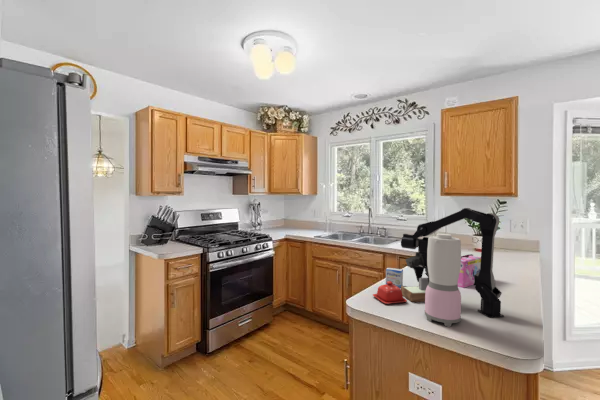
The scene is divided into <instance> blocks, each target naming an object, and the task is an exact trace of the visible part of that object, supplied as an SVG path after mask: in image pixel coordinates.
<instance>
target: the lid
mask: <svg viewBox="0 0 600 400" xmlns="http://www.w3.org/2000/svg"><path fill="white" fill-rule="evenodd" d="M418 286H419V287H416V286H403V287H404V288H406V289H407V290H409V291H410V292H412V293H425V291H426V288H427V286H428V277H422V278H419V282H418Z"/></svg>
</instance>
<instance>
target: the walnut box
mask: <svg viewBox="0 0 600 400" xmlns="http://www.w3.org/2000/svg"><path fill="white" fill-rule="evenodd" d="M404 287H405V286H401V288H400V289H401V291H402V295H403V298H404V299H406V300H407V301H409V302H410V303H425V293H412V292H410V291H409V290H407V289H406V288H404ZM415 287H419V285H418V286H415Z"/></svg>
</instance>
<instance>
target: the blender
mask: <svg viewBox="0 0 600 400" xmlns="http://www.w3.org/2000/svg"><path fill="white" fill-rule="evenodd" d="M461 256H462V241H461V239H460V238H458V237H453V235H452V234H450V233H436V235H430V236H428V248H427V266H428V273H429V284H428V286H427V288H426V291H425V302H424V316H426V320H427V321H428V322H430V323H431V322H433V321H435V322H439V323H443V324H444V326H445V327H448V328H449V327H451V326H452V324H457V323H460V322H461V321H462V319H461V317H462V316H461V315H462V312H461V311H462V294H461V291H460V289H459V287H458V285H457V283H458V278H459V273H460V267H461Z"/></svg>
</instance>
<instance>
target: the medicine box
mask: <svg viewBox="0 0 600 400" xmlns="http://www.w3.org/2000/svg"><path fill="white" fill-rule="evenodd" d="M388 281H391V282H392V285H395V286H397V287H399V288H400V289H401V286H403V282H404V269H401V268H395V267H387V268H386V269H385V284H387V282H388ZM403 287H404V286H403Z"/></svg>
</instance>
